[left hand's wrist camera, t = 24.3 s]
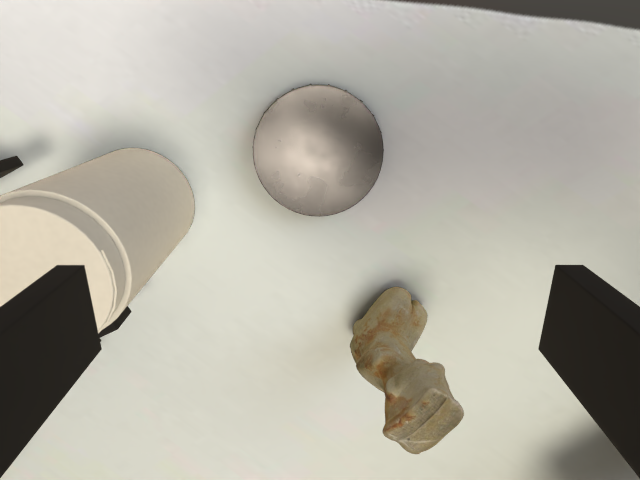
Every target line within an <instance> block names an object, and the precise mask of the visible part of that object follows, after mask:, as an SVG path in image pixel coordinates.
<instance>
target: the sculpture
mask: <svg viewBox="0 0 640 480" xmlns="http://www.w3.org/2000/svg"><path fill="white" fill-rule="evenodd" d="M426 322H427V313H426V310H425V309H424V308H423V306H422V305H421V304H420V303H419V302H418V301H417V300H414V301H411V295H410V293H409V292H408V291H407V290H405V289H403V288H400V287H392V288H390V289H388V290H386V291H385V292H383V293H382V294H381V295H380V296H379V298H378V299H377V300H376V301H375V302H374V304H373V305H372V306H371V307H370V309H369V310H368V311H367V313H366V314H365V316H364V317H363V318H362V319H359V320H357V321H356V323H355V324H354V326H353V334H354V336H353V338H352V341H351V343H350V348H351V353H352V355H353V358H354V360H355V362H356V367H357V370H358V371H359V373H360V374H361V375H362V376H363V377H364V378H365V379H366V380H367V381H368V382H370V383H371V384H372V385H374V386H375V387H376V388H378V389H379V390H381V391H383V392H384V393H385V397H386V398H385V421H386V422H385V426H384V428H383V434H384V436H386V437H387V438H389V439H391V440H393V441H396V442H398V443H399V444H400V445H401V446H402V447H403V448H404V449H405V450H406V451H408V452H410V453H412V454H419V453H421V452H423V451H426V450H428V449H430V448H432V447H433V446H435V445H436V444H437V443H438V442H439V441H440V440H441V439H442V438H443V437H444V436H445V435H447V434H448V433H449V432H450V431H451V430H452V429H454V428H455V427H456V426H457V425H458V424H459V423H460V421H461V420H462V418H463V416H464V411H463V409H462V407H461V405H460V404H459V403H458V401H456V400H455V399H454V397H453V396H452V394H451V392H450V389H449V385H448V383H447V381H446V378H445V369H444V367H443V365H441V364H439V363H429V362H427V361H425V360H422V359H416V358H415V357H414V355H413V354H412V353H411V351H412V350H413V348H414V346H415V345H416V343H417V341H418V339H419V338H420V336H421V334H422V332H423V330H424V327H425V325H426Z"/></svg>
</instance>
